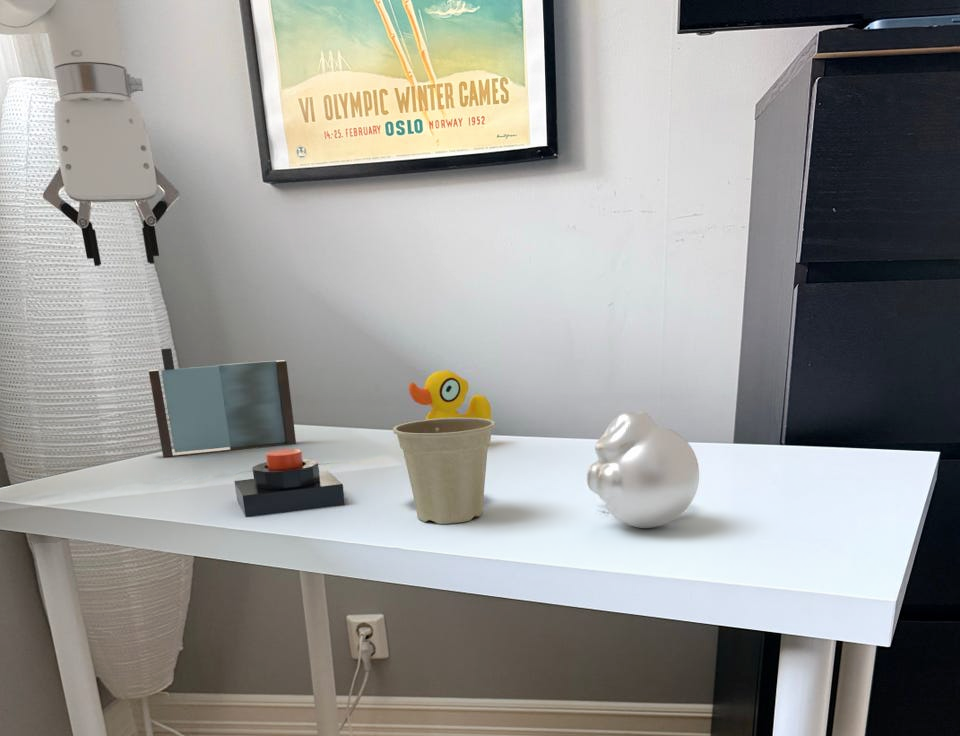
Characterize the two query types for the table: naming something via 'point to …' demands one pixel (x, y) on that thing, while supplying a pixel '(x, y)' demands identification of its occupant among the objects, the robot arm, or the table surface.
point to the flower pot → (446, 466)
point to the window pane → (194, 406)
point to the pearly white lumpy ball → (643, 471)
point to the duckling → (449, 397)
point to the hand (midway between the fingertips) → (124, 262)
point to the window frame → (243, 407)
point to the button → (284, 459)
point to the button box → (288, 490)
